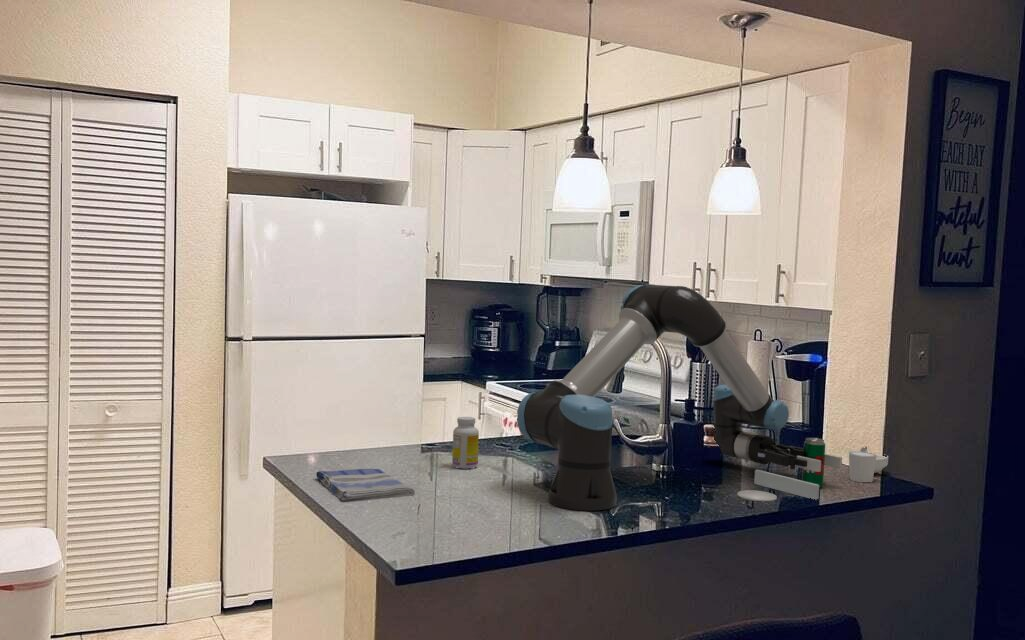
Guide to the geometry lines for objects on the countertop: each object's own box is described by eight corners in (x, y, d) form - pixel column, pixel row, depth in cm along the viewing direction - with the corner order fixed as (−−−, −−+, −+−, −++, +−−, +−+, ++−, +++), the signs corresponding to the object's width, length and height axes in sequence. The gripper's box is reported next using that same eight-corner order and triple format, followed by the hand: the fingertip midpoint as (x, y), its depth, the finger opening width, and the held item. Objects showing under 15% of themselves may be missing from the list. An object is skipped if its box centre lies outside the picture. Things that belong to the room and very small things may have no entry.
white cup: (877, 484, 226) (879, 457, 226) (849, 482, 227) (851, 455, 227) (872, 478, 233) (873, 452, 232) (845, 476, 234) (846, 450, 234)
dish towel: (342, 505, 189) (342, 492, 189) (313, 480, 210) (313, 468, 210) (417, 498, 197) (417, 486, 197) (382, 475, 218) (382, 464, 218)
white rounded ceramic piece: (849, 474, 236) (850, 449, 236) (845, 466, 248) (847, 442, 247) (889, 478, 233) (891, 453, 233) (884, 469, 245) (886, 445, 244)
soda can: (826, 486, 221) (828, 439, 220) (818, 490, 217) (821, 442, 216) (806, 483, 224) (809, 436, 224) (798, 486, 220) (801, 438, 220)
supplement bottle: (480, 465, 231) (481, 416, 230) (474, 470, 225) (476, 420, 224) (455, 463, 232) (457, 415, 232) (449, 468, 226) (451, 419, 225)
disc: (733, 497, 206) (733, 495, 206) (743, 489, 214) (743, 488, 214) (772, 503, 202) (772, 501, 202) (780, 495, 210) (780, 494, 210)
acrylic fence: (754, 483, 221) (754, 470, 221) (756, 483, 222) (757, 469, 222) (815, 500, 207) (816, 485, 207) (818, 499, 207) (819, 484, 207)
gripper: (779, 458, 241) (854, 475, 223) (729, 465, 229) (803, 484, 211) (781, 431, 241) (855, 446, 222) (730, 437, 229) (805, 453, 210)
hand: (830, 464), depth 216 cm, fingers open, 8 cm apart
